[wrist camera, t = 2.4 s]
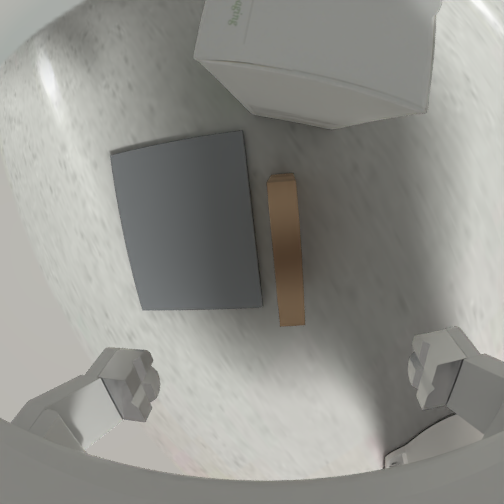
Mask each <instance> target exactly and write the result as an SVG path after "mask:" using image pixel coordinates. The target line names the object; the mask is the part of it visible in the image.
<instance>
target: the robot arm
mask: <svg viewBox="0 0 504 504" xmlns="http://www.w3.org/2000/svg"><path fill="white" fill-rule="evenodd" d="M412 348H413V349H414V353H413V354H412V355H411V356H410V357H409V361H408V377H409V381H410V383H411V386H413V387H414V388H416V389H418V390H417V394H416V397H417V399H418V402H419V404H420V406H421V408H422V411H423V410H427V409H432V408H436V407H440V406H444V405H446V406H447V407H448V408H449V409H451V410H452V411H453V412H455V413H456V415H453V416H451V417H448V418H446V419H444V420H442V421H440V422H438V423H436V424H435V425H433V426H431V427H430V428H428V429H426V430H425V431H424V432H422V433H421V434H419V435H418V436H417V437H415V438H414V439H413V440H412V441H411V442H409V443H408V444H407V445H405V446H403V447H401V448H399V449H397V450H395V451H393V452H391V453H390V454H388V455H387V456H386V457H385V469H381V470H376V471H371V472H365V473H359V474H352V475H345V476H337V477H328V478H317V479H303V480H279V481H254V480H229V479H215V478H205V477H195V476H187V475H180V474H173V473H167V472H161V471H155V470H150V469H145V468H140V467H135V466H131V465H127V464H123V463H118V462H115V461H111V460H107V459H104V458H100V457H97V456H93V455H90V454H87V453H86V451H85V450H86V449H87V448H88V447H90V446H91V445H92V444H93V443H95V442H96V441H97V440H99V439H100V438H101V437H102V436H104V435H105V434H106V433H108V432H109V431H110V430H111V429H113V428H114V427H115V426H117V425H118V424H119V423H120V422H121V421H122V419H125V420H132V421H139V422H146V420H147V418H148V416H149V414H150V412H151V410H152V406H151V403H150V402H152V401H153V400H155V399H156V398H157V396H158V394H159V391H160V378H159V375H158V372H157V370H155V369H154V368H153V367H152V366H151V365H152V363H153V358H152V356H151V353H150V352H149V351H147V350H138V349H127V348H114V347H108V348H105V349H104V351H103V352H102V353H101V355H100V356H99V357H98V358H97V360H96V361H95V362H94V363H93V365H92V366H91V367H90V369H89V370H88V371H87V373H86V374H85V375H80V376H78V377H76V378H74V379H72V380H70V381H68V382H66V383H64V384H62V385H60V386H58V387H56V388H54V389H52V390H50V391H48V392H46V393H44V394H42V395H40V396H38V397H35V398H33V399H31V400H29V401H28V402H27V403H26V404H25V406H24V407H23V408H22V409H21V410H20V412H19V413H18V414H17V416H16V417H15V418H14V419H13V420H12V422H11V423H9V422H7V421H5V420H3V419H1V418H0V504H504V362H503V361H501V360H499V359H496V358H494V357H492V356H489V355H487V354H480V353H479V351H478V350H477V349H476V347H475V346H474V345H473V344H472V342H471V341H470V340H469V339H468V337H467V336H466V335H465V334H464V332H463V331H462V330H461V329H460V328H459V327H457V326H454V327H450V328H446V329H443V330H439V331H434V332H428V333H423V334H417V335H415V336H414V338H413V342H412Z"/></svg>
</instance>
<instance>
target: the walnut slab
mask: <svg viewBox="0 0 504 504" xmlns="http://www.w3.org/2000/svg"><path fill="white" fill-rule="evenodd" d="M267 192H268V206H269V216H270V226H271V236H272V247H273V257H274V268H275V279H276V290H277V301H278V307H279V319H280V327H281V326H297V325H305V310H304V288H303V269H302V252H301V237H300V223H299V211H298V198H297V187H296V180H295V177H294V174H293V173H287V174H275V175H271V176H270V178H269V180H268V182H267Z"/></svg>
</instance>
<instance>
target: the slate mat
mask: <svg viewBox="0 0 504 504" xmlns="http://www.w3.org/2000/svg"><path fill="white" fill-rule="evenodd" d="M110 157H111V165H112V172H113V178H114V185H115V191H116V197H117V202H118V208H119V213H120V218H121V224H122V228H123V233H124V238H125V243H126V247H127V252H128V256H129V260H130V264H131V269H132V273H133V277H134V281H135V284H136V288H137V292H138V296H139V299H140V303H141V306H142V310H206V309H235V308H257V307H263V303H262V294H261V285H260V276H259V267H258V258H257V249H256V240H255V231H254V223H253V214H252V205H251V196H250V188H249V179H248V171H247V162H246V153H245V145H244V136H243V131H234V132H227V133H220V134H213V135H207V136H201V137H195V138H189V139H183V140H178V141H173V142H168V143H163V144H158V145H153V146H148V147H144V148H139V149H135V150H131V151H127V152H122V153H118V154H114V155H111V156H110Z"/></svg>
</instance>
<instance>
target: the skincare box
mask: <svg viewBox="0 0 504 504" xmlns="http://www.w3.org/2000/svg"><path fill="white" fill-rule="evenodd" d="M441 5H442V0H206V1H205V5H204V9H203V13H202V17H201V21H200V25H199V30H198V35H197V40H196V45H195V49H194V55H193V58H194V60H196V61H198V62H199V63H200V64H201V65H202V66H203V67H204V68H205V69H207V70H208V71H209V72H210V73H211V74H212V75H213V76H214V77H215V78H216V79H217V80H218V81H219V82H220V83H221V84H222V85H223V86H224V87H225V88H226V89H227V90H228V91H229V92H230V93H231V94H232V95H233V96H234V97H235V98H236V99H237V100H238V101H239V102H240V103H241V104H242V105H243V106H244V107H245V108H246V109H247V110H248V111H249V112H250V113H251V114H252V115H257V116H263V117H269V118H274V119H280V120H286V121H291V122H296V123H302V124H307V125H312V126H316V127H321V128H326V129H330V130H334V129H339V128H343V127H348V126H353V125H357V124H362V123H367V122H372V121H378V120H384V119H389V118H396V117H401V116H408V115H414V114H423V113H426V112H427V111H428V104H429V93H430V85H431V78H432V69H433V60H434V48H435V33H436V15H437V13H438V12H439V10H440V8H441Z"/></svg>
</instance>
